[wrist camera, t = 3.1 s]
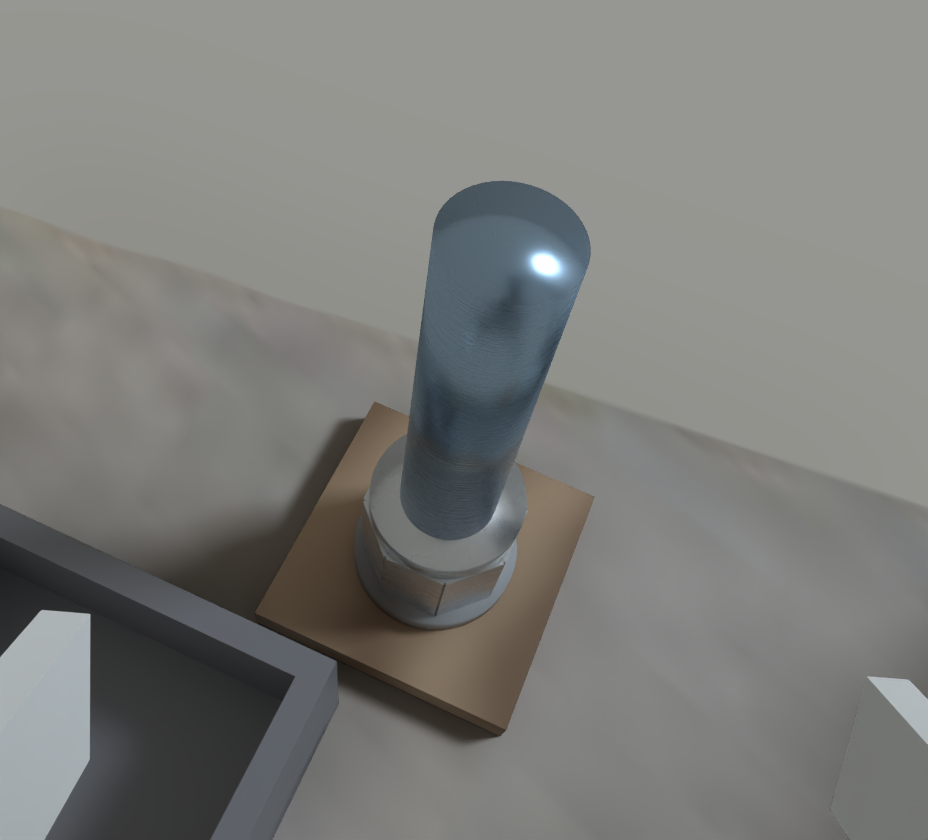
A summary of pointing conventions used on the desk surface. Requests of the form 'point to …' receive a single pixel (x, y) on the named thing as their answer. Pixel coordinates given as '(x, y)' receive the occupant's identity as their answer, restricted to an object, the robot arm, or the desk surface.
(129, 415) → the desk surface
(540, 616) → the stud base
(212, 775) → the bin
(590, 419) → the desk surface
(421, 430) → the strut
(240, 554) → the desk surface
